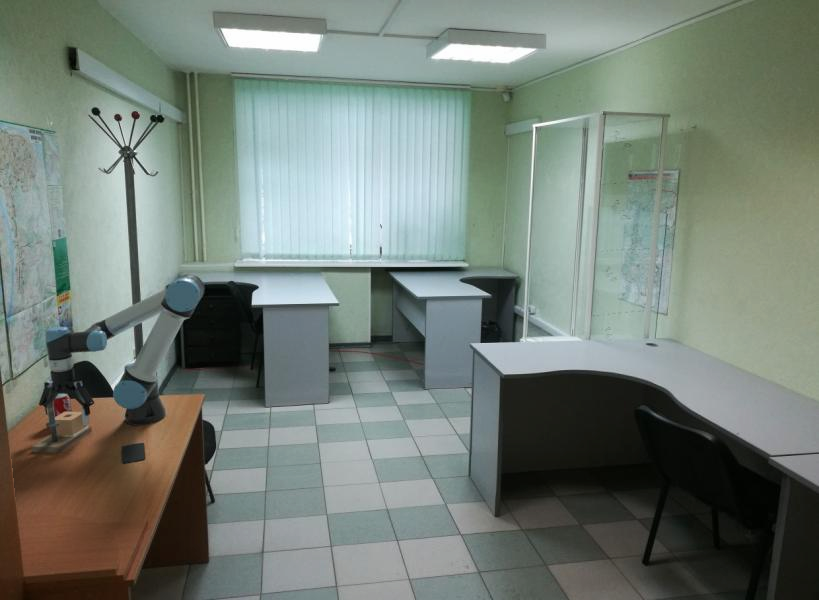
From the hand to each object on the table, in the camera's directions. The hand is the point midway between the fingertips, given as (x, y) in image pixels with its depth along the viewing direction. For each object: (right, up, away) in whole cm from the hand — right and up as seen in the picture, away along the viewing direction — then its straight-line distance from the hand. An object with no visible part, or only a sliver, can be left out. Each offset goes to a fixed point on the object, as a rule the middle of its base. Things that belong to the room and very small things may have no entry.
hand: (69, 423), depth 223 cm
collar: (0, -3, +1) cm, 3 cm away
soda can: (-10, -3, +13) cm, 17 cm away
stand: (0, -6, -3) cm, 7 cm away
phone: (+31, -8, -14) cm, 35 cm away
